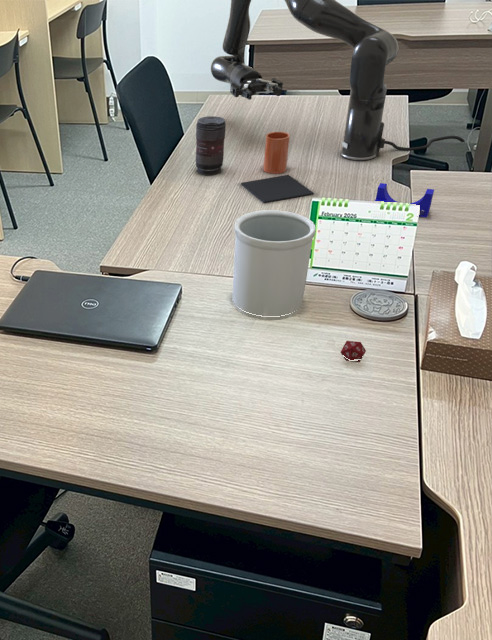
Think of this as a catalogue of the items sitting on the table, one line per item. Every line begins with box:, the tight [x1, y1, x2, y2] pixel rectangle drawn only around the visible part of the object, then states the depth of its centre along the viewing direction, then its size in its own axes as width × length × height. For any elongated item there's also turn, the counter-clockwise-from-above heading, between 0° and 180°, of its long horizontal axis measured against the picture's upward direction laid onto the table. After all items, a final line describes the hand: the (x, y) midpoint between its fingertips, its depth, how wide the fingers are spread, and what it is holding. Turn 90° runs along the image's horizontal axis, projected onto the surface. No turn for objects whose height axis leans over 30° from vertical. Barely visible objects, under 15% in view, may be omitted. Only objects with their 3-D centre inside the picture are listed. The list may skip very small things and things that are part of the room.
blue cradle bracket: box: [374, 182, 435, 219], centre depth 171 cm, size 12×4×6 cm, turn 58°
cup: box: [263, 131, 291, 175], centre depth 199 cm, size 6×6×10 cm
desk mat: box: [240, 174, 315, 204], centre depth 191 cm, size 14×14×1 cm
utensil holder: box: [232, 209, 316, 321], centre depth 140 cm, size 15×15×18 cm
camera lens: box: [195, 115, 227, 176], centre depth 202 cm, size 8×8×15 cm
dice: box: [340, 340, 367, 363], centre depth 125 cm, size 4×4×4 cm
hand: (265, 94), depth 201 cm, fingers open, 8 cm apart
